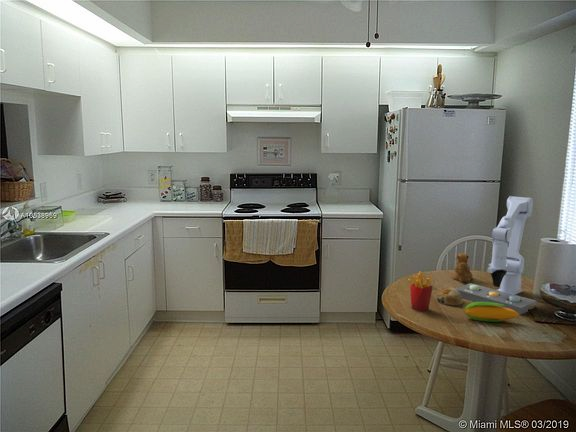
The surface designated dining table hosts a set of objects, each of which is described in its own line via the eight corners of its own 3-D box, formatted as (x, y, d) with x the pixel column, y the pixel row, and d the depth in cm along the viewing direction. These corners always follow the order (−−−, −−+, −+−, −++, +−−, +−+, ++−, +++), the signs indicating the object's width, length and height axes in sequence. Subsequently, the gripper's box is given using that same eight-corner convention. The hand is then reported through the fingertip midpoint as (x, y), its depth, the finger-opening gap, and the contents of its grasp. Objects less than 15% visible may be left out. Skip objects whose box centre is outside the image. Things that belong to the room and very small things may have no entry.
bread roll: (458, 314, 199) (468, 299, 197) (436, 303, 200) (445, 287, 198) (454, 306, 208) (464, 291, 207) (433, 295, 210) (442, 280, 208)
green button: (472, 290, 215) (472, 284, 214) (480, 292, 212) (481, 286, 211) (467, 292, 212) (468, 285, 212) (475, 294, 209) (476, 287, 209)
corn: (463, 296, 187) (516, 300, 184) (461, 314, 189) (514, 318, 186) (467, 304, 180) (523, 308, 177) (465, 322, 182) (520, 326, 179)
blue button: (511, 301, 201) (512, 294, 200) (521, 303, 198) (521, 297, 197) (507, 303, 198) (507, 296, 198) (516, 305, 195) (517, 299, 195)
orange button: (491, 297, 208) (491, 290, 207) (500, 299, 205) (500, 293, 204) (486, 299, 205) (487, 292, 205) (495, 301, 202) (496, 295, 202)
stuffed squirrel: (470, 277, 241) (472, 251, 239) (475, 285, 227) (477, 258, 225) (450, 275, 243) (452, 250, 241) (453, 283, 230) (455, 257, 228)
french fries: (431, 309, 194) (434, 274, 192) (419, 313, 190) (421, 277, 187) (414, 303, 201) (416, 269, 199) (401, 307, 196) (403, 272, 194)
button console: (469, 289, 221) (470, 282, 221) (535, 307, 198) (536, 300, 198) (453, 295, 212) (453, 288, 212) (520, 315, 190) (521, 307, 189)
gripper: (498, 251, 209) (496, 281, 211) (481, 256, 200) (479, 287, 202) (514, 254, 203) (511, 285, 206) (497, 259, 194) (494, 291, 197)
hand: (496, 286), depth 203 cm, fingers closed
